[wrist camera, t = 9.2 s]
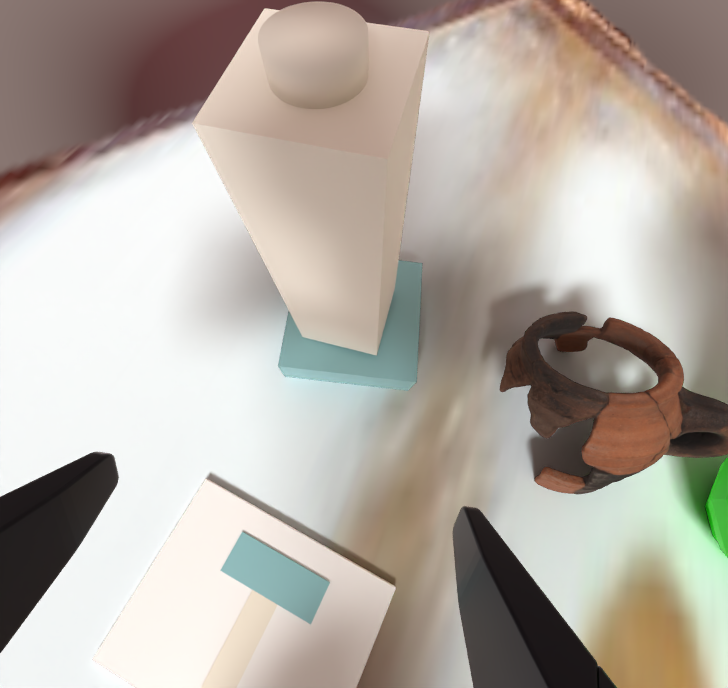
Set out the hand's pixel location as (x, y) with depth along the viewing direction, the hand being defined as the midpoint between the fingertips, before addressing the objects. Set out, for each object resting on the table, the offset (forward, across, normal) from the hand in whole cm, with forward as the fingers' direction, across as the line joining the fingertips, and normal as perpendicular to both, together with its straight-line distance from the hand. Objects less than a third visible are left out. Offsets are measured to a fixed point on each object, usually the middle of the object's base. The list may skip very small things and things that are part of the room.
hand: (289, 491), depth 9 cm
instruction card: (+3, +2, +14) cm, 14 cm away
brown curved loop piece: (+13, -16, +4) cm, 21 cm away
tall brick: (+13, 0, 0) cm, 13 cm away
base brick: (+15, -1, +2) cm, 16 cm away
